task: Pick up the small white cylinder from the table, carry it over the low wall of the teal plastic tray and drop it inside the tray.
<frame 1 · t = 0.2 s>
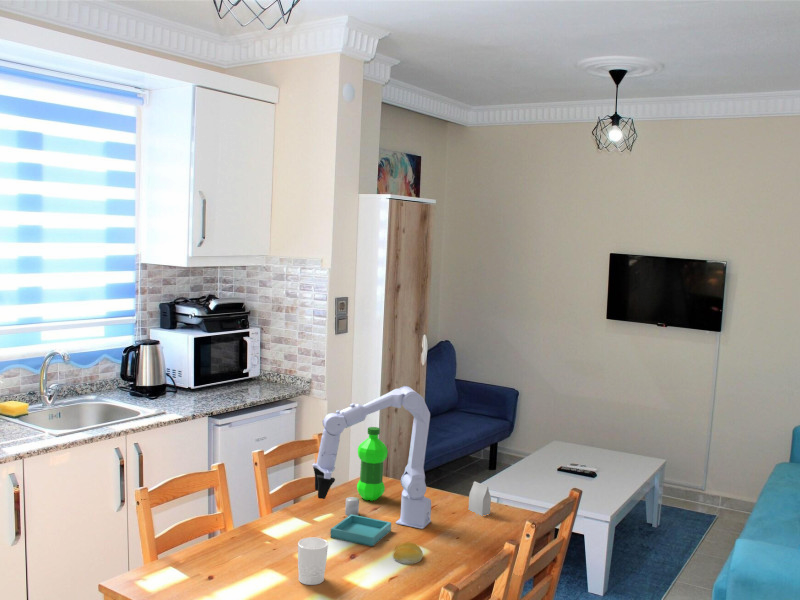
hand: (319, 494, 236), 10 cm above the table, tool pointing down, fingers open, 7 cm apart
bread roll: (407, 559, 217), on the table
plastic bottle: (370, 498, 265), on the table
white cylinder: (351, 514, 249), on the table
white gable top carton: (479, 513, 257), on the table
white cup: (311, 580, 200), on the table
tray: (361, 534, 233), on the table
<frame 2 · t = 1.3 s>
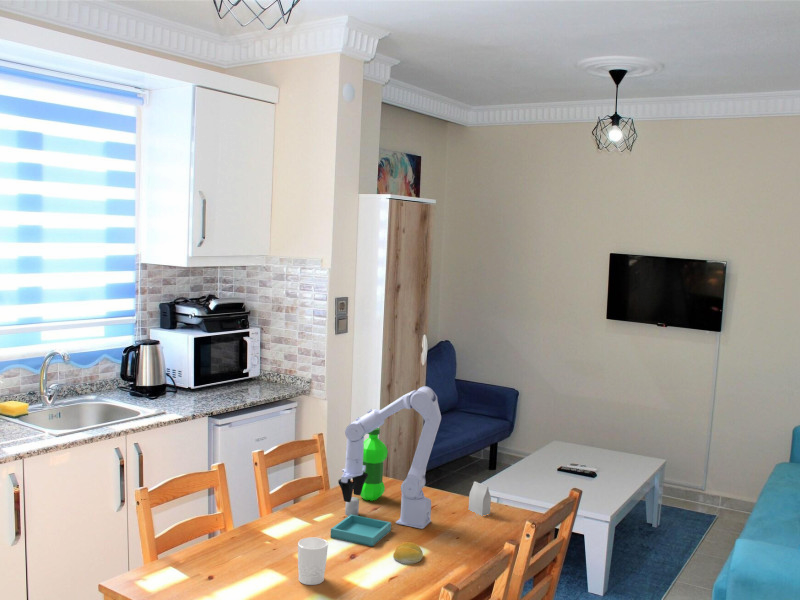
hand: (352, 498, 249), 5 cm above the table, tool pointing down, fingers open, 7 cm apart
nothing on the table moved.
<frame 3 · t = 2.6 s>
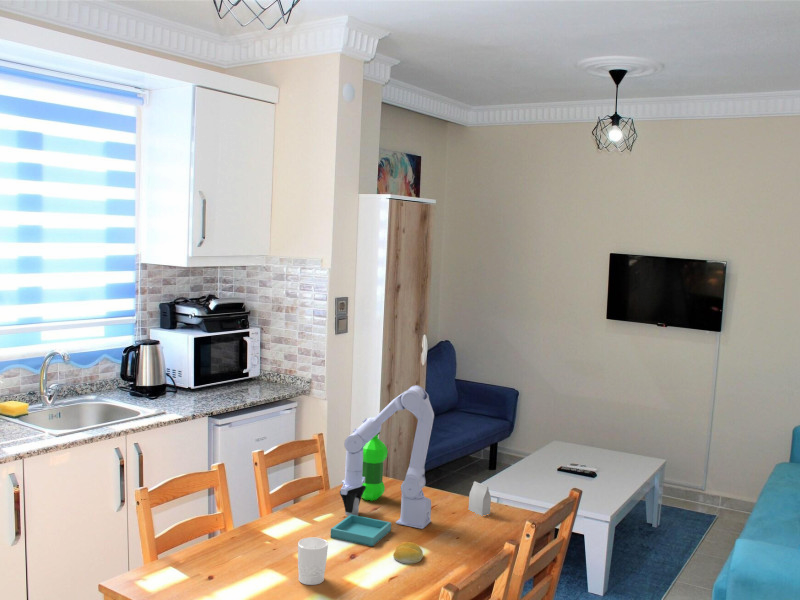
hand: (351, 509, 249), 1 cm above the table, tool pointing down, fingers closed on white cylinder, 4 cm apart
white cylinder: (351, 513, 249), on the table, touching gripper
everything else where it was.
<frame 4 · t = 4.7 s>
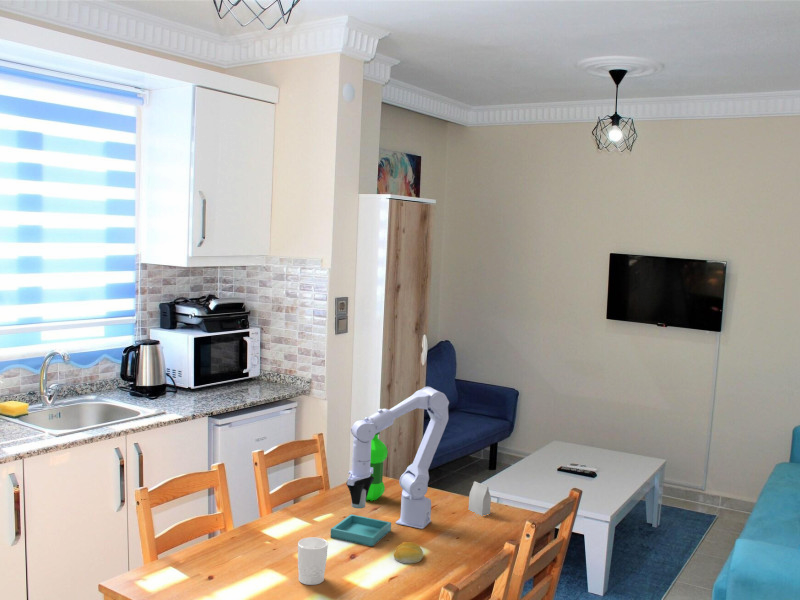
hand: (359, 501, 237), 8 cm above the table, tool pointing down, fingers closed on white cylinder, 4 cm apart
white cylinder: (358, 505, 237), point 7 cm above the table, touching gripper
everything else where it was.
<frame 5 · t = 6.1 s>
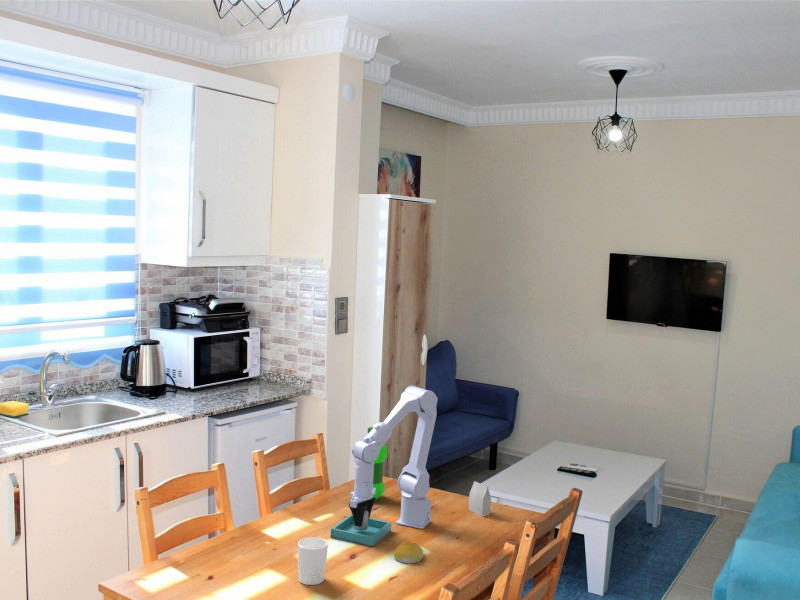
hand: (361, 523, 232), 3 cm above the table, tool pointing down, fingers closed on white cylinder, 4 cm apart
white cylinder: (360, 527, 233), point 2 cm above the table, touching gripper
everything else where it was.
when the fingers open (3 cm above the table, at t = 6.9 s): white cylinder drops 1 cm, resting on tray.
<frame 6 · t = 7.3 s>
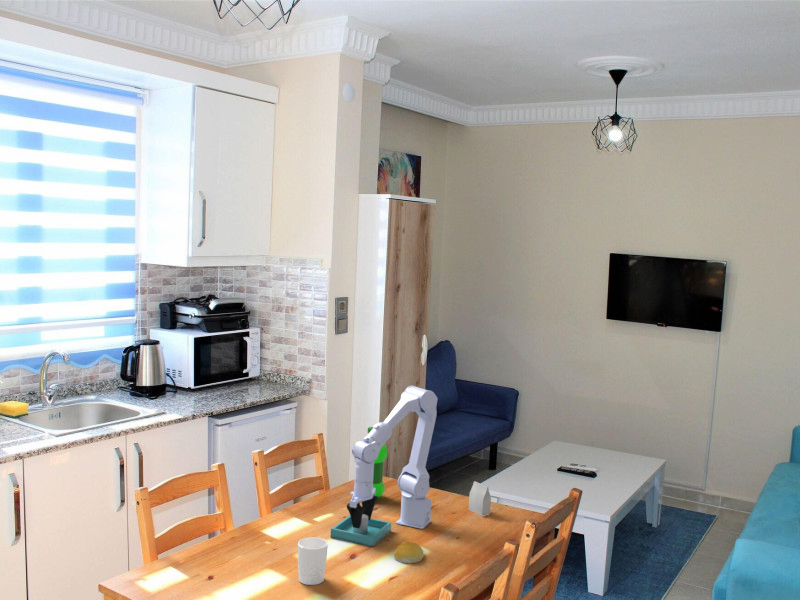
hand: (361, 523, 232), 3 cm above the table, tool pointing down, fingers open, 7 cm apart
white cylinder: (360, 532, 233), point 1 cm above the table, touching tray
everything else where it was.
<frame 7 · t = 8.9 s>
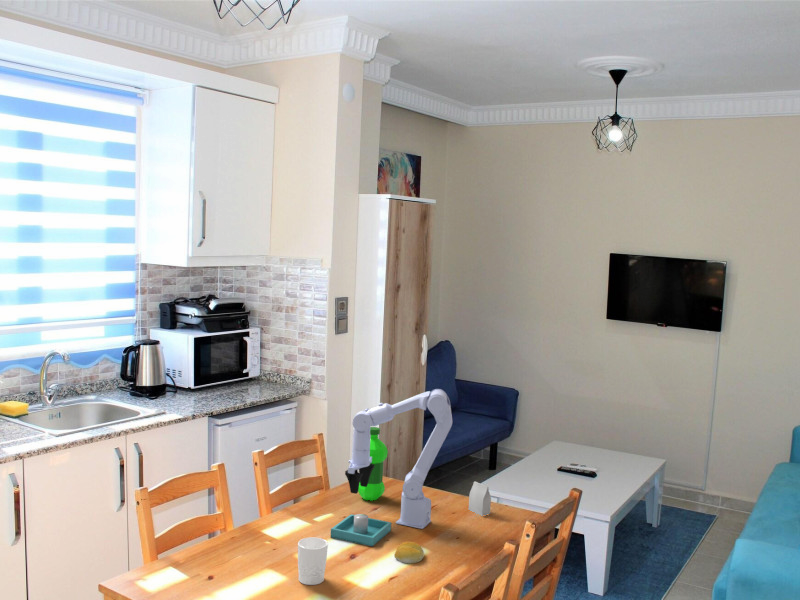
hand: (359, 489, 245), 9 cm above the table, tool pointing down, fingers open, 7 cm apart
nothing on the table moved.
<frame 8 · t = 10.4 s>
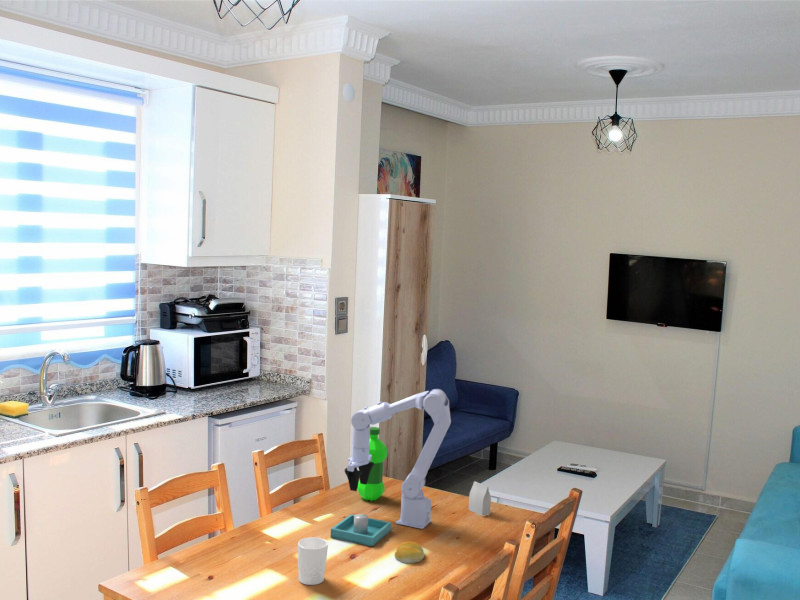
hand: (358, 487, 248), 9 cm above the table, tool pointing down, fingers open, 7 cm apart
nothing on the table moved.
at the end: white cylinder inside the target area on the tray (0.3 cm from its centre), point 0.5 cm above the tray's base; the gripper is holding nothing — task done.
